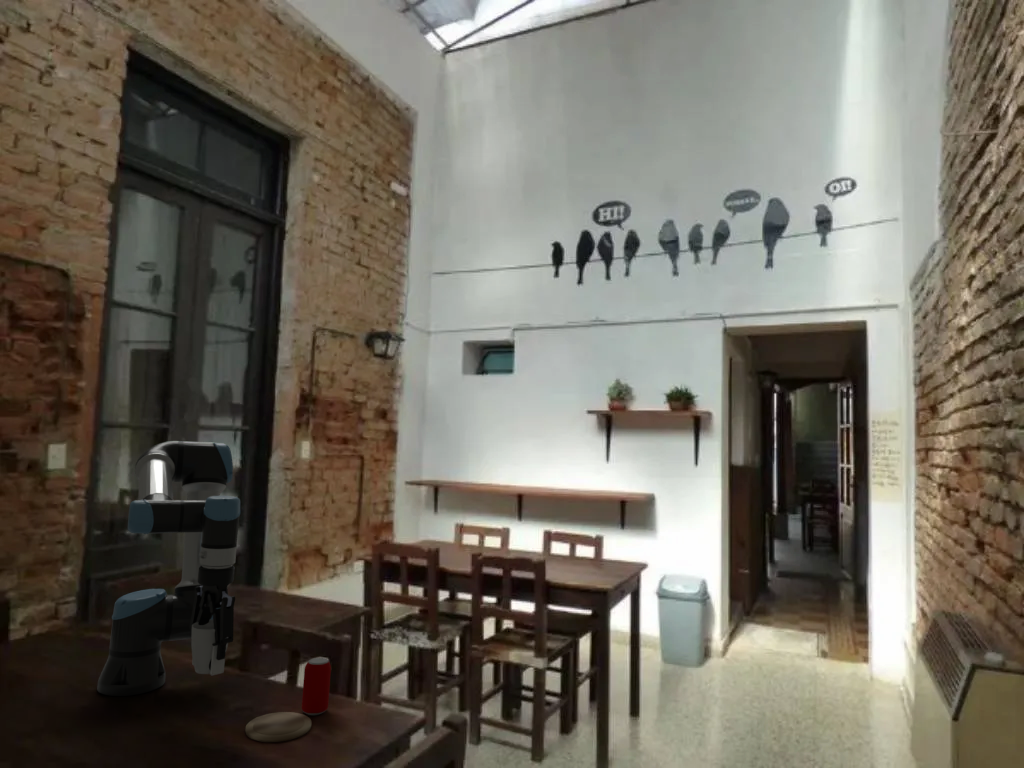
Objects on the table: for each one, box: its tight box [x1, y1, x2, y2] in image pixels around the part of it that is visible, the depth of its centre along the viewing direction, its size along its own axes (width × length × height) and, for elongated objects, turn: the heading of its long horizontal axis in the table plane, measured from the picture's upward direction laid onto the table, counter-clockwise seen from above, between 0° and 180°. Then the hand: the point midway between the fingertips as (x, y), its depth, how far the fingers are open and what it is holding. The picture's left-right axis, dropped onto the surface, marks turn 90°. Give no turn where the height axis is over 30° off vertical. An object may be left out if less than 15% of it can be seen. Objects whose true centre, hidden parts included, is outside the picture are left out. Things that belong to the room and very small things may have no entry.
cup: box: [190, 620, 229, 675], centre depth 148 cm, size 8×8×10 cm
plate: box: [244, 711, 312, 743], centre depth 148 cm, size 14×14×1 cm
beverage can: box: [301, 657, 332, 716], centre depth 158 cm, size 6×6×12 cm
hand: (207, 668), depth 147 cm, fingers closed on cup, 8 cm apart
